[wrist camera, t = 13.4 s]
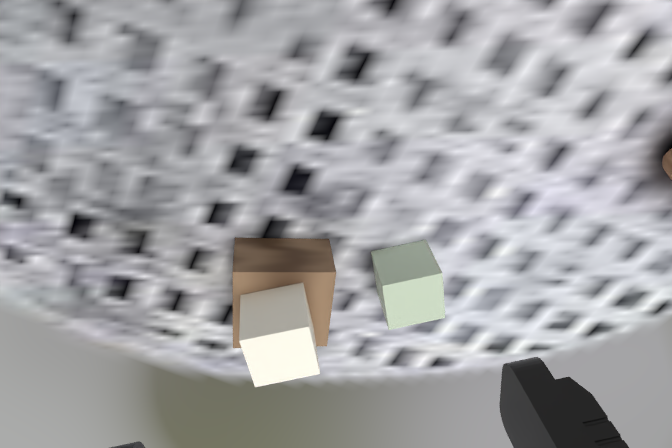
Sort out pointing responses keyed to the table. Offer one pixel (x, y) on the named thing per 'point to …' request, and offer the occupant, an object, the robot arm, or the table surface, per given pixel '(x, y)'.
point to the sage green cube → (408, 284)
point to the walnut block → (286, 275)
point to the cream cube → (278, 335)
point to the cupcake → (668, 163)
